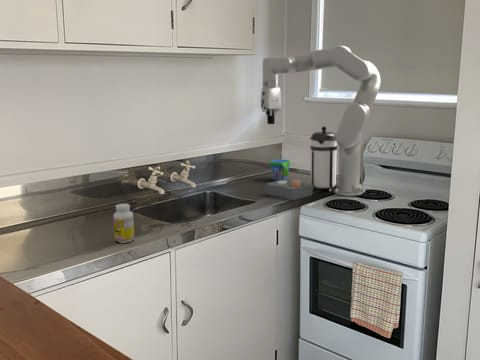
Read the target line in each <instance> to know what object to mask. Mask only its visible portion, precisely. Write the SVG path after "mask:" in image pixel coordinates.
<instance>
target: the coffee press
mask: <svg viewBox="0 0 480 360" xmlns="http://www.w3.org/2000/svg"><path fill="white" fill-rule="evenodd" d="M335 137H336V133H335V132H332V131H327V127H326V126H322V127H321V131H315V132H313V133H312V134H311V136H310V148H309V149H310V184H312V185H313V187H312V192H313V191H314V190H315V189H316V188H317V189H328V191H329V192H330V193H331V192H334V188H336V189H337V188H338V185H337V152H338V151H337V150H338V144H337V142H336V138H335Z"/></svg>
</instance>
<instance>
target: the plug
mask: <svg viewBox="0 0 480 360" xmlns="http://www.w3.org/2000/svg"><path fill="white" fill-rule="evenodd" d="M277 184H282V185H283V184H287V181H278V182H277Z"/></svg>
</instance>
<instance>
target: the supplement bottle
mask: <svg viewBox="0 0 480 360" xmlns="http://www.w3.org/2000/svg"><path fill="white" fill-rule="evenodd" d="M130 206H131V205H130V204H128V203H119V204H116V205H115V209H116V212H114V213H113V215H112V216H113V217H112V218H113V231H114V239H115V238H116V239H121V240H127V239H131V238H133V237H134V238H135V225H134V224H135V223H134V222H135V221H134V213H133V212H132V211H130V209H131V208H130Z"/></svg>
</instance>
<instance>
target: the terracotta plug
mask: <svg viewBox="0 0 480 360" xmlns="http://www.w3.org/2000/svg"><path fill="white" fill-rule="evenodd" d="M290 180H291V186H292V187H300V186H301V182H302V180H301V179H290Z"/></svg>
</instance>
